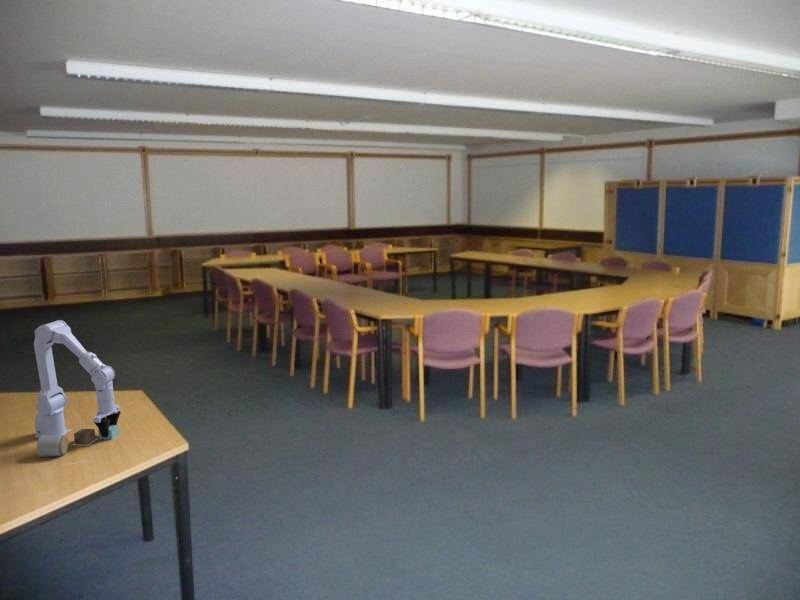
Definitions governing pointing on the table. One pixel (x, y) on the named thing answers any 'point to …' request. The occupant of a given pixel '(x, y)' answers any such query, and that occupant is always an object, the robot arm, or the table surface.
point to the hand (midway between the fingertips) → (108, 433)
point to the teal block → (111, 432)
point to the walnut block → (84, 436)
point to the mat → (86, 444)
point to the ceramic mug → (52, 445)
